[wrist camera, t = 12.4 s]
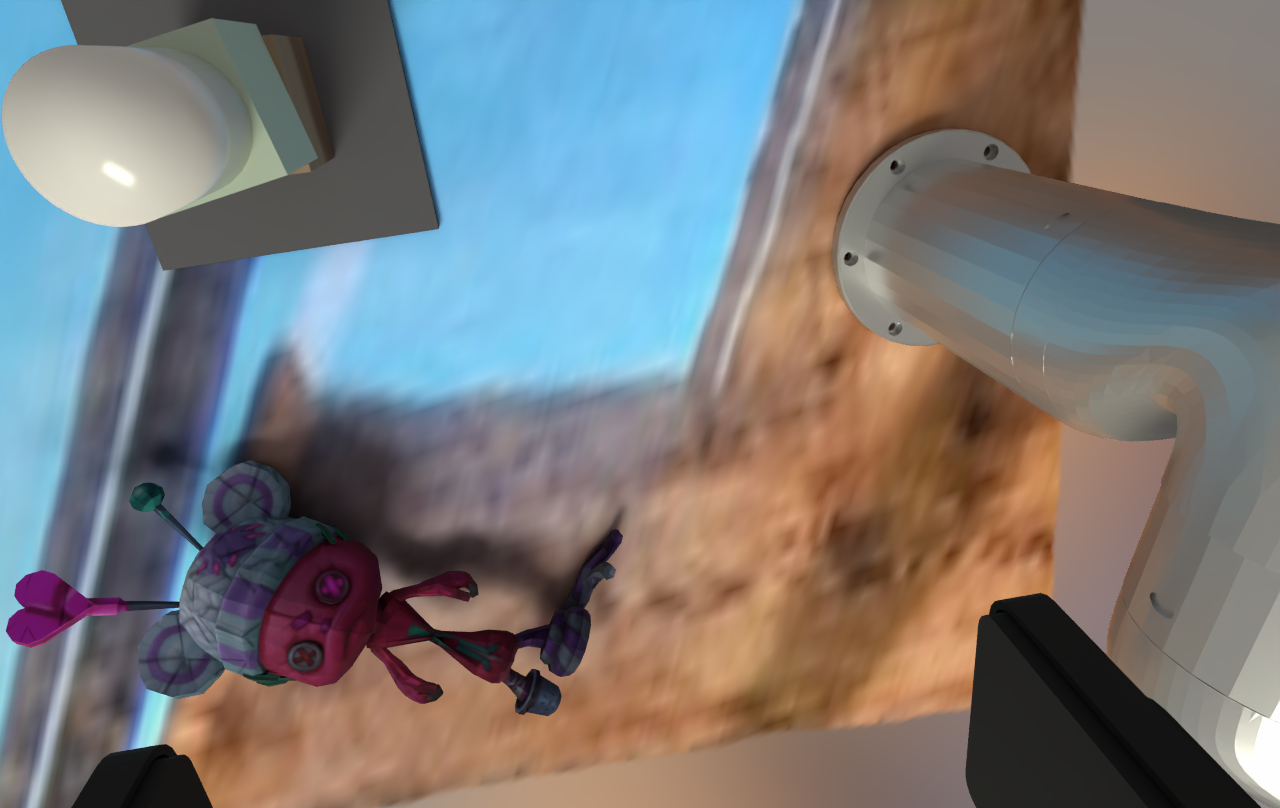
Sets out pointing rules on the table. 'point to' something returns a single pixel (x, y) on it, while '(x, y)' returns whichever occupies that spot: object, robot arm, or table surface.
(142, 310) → the table surface
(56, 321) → the table surface
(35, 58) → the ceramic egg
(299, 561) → the toy
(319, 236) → the mat
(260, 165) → the block top
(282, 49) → the block bottom
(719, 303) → the table surface
